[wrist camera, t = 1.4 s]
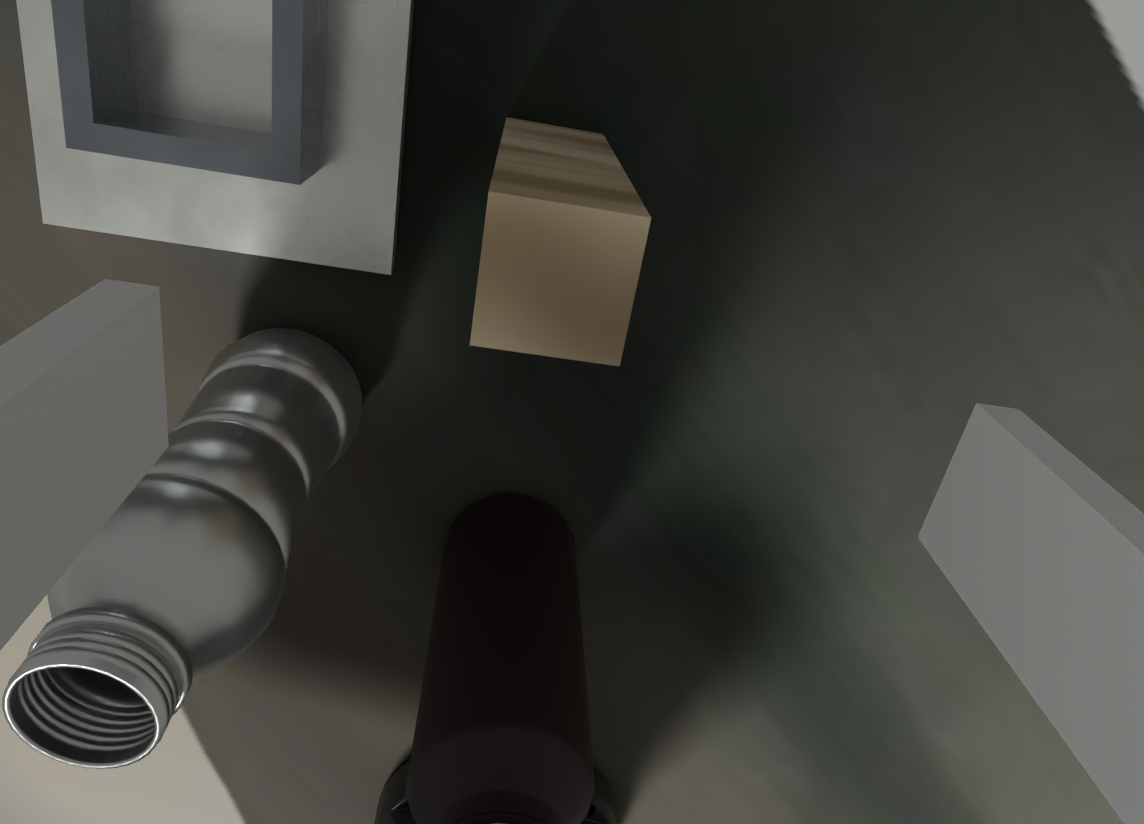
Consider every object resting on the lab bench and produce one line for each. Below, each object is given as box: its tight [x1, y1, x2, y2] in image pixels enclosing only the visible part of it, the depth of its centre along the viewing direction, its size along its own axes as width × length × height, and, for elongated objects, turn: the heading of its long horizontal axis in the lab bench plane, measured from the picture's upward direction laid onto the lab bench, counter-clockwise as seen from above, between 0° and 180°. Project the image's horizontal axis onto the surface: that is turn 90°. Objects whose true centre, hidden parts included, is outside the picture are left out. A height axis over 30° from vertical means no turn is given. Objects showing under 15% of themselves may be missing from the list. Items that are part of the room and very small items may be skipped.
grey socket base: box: [16, 0, 414, 275], centre depth 29 cm, size 16×14×4 cm
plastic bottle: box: [2, 328, 362, 769], centre depth 28 cm, size 6×7×20 cm
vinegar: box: [406, 494, 595, 824], centre depth 33 cm, size 7×7×20 cm
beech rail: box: [470, 117, 651, 366], centre depth 27 cm, size 4×4×15 cm
